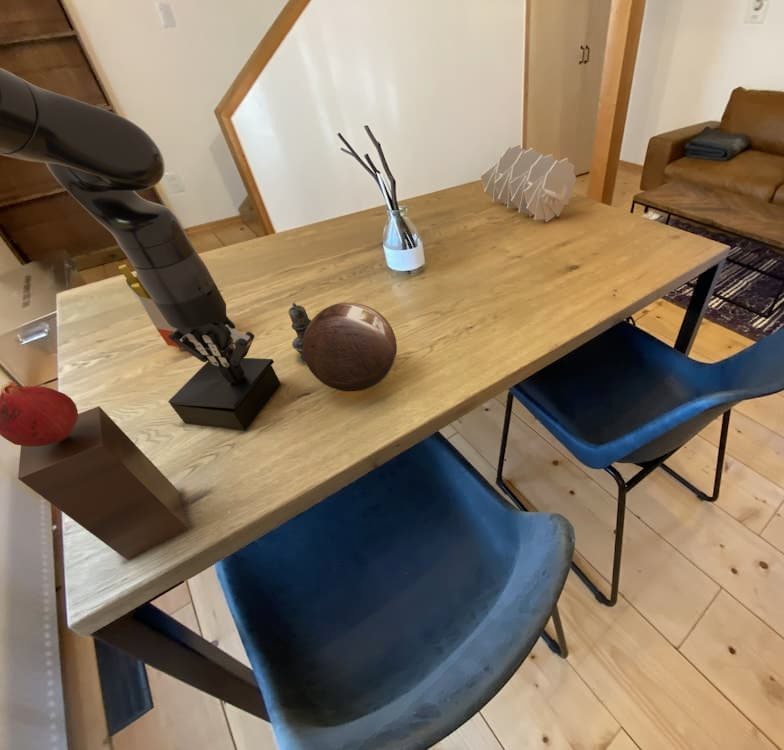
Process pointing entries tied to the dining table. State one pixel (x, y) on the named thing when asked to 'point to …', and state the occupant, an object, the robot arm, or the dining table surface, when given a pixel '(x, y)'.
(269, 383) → the box
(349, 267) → the dining table surface
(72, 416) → the pomegranate
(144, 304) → the french fries container
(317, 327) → the wooden sphere
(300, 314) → the grey chess piece
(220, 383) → the box lid
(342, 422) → the dining table surface
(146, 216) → the robot arm
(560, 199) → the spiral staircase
